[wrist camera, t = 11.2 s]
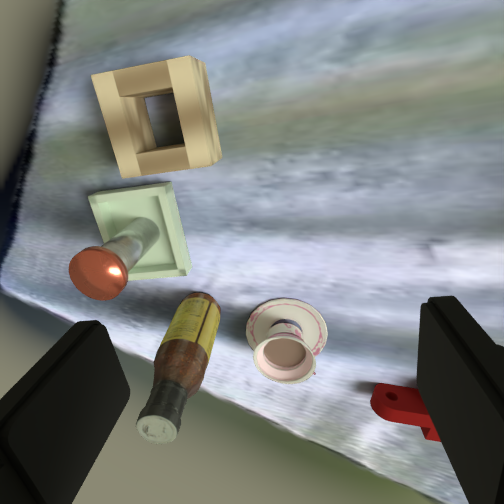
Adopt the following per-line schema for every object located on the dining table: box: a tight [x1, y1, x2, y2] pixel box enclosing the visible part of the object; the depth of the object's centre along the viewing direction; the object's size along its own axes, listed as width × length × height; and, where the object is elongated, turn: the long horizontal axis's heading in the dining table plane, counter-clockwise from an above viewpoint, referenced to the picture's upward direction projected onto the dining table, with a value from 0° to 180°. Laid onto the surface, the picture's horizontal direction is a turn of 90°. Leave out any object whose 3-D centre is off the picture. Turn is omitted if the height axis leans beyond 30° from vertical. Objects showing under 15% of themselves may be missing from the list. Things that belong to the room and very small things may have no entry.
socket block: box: [91, 55, 222, 178], centre depth 36 cm, size 10×10×6 cm
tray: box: [88, 182, 192, 281], centre depth 43 cm, size 12×10×3 cm
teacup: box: [246, 298, 328, 384], centre depth 46 cm, size 12×12×6 cm
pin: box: [69, 217, 160, 300], centre depth 38 cm, size 6×6×12 cm
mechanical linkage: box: [370, 383, 441, 442], centre depth 49 cm, size 16×7×5 cm, turn 84°
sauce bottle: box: [136, 293, 220, 444], centre depth 40 cm, size 7×6×20 cm
